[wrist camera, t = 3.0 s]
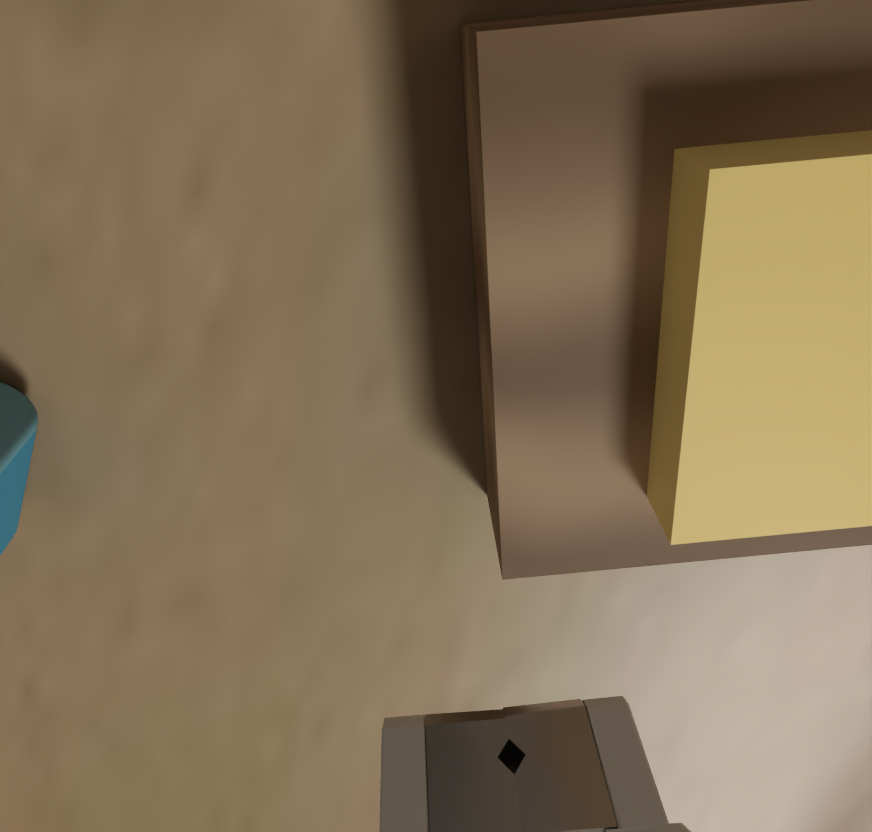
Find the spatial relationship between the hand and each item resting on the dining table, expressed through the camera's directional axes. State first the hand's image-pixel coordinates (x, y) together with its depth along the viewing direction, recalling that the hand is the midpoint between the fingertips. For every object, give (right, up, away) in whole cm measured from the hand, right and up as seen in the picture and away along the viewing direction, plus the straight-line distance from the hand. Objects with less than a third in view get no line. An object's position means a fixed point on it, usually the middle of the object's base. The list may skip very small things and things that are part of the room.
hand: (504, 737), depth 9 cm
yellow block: (+7, +6, +8) cm, 13 cm away
